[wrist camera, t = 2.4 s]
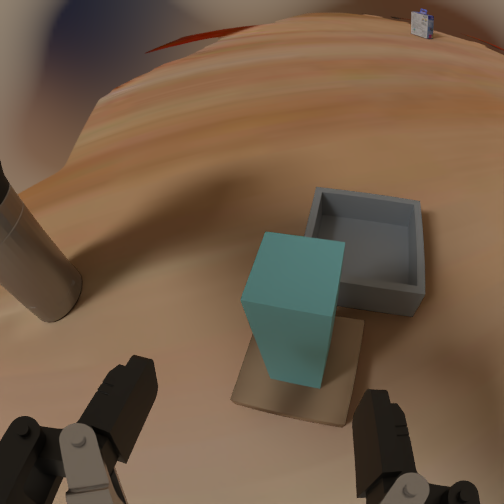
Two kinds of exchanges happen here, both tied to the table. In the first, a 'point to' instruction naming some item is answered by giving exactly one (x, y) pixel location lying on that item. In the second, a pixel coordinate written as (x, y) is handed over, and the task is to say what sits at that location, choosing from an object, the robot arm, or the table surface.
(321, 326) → the teal strut
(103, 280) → the table surface
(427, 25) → the ink cartridge box
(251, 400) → the walnut stud block
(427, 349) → the table surface
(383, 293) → the charcoal bin
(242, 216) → the table surface
